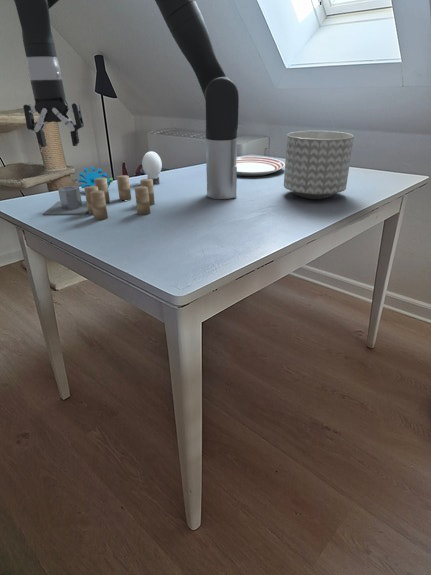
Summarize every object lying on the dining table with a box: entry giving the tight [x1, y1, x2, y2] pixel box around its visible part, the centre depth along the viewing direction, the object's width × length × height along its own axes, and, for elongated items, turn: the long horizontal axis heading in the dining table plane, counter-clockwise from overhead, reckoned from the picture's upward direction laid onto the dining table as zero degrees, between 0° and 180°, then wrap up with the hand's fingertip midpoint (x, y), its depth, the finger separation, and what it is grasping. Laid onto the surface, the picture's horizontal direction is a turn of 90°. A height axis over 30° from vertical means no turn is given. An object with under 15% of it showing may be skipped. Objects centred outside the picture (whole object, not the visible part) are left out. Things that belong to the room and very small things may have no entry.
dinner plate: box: [236, 156, 285, 177], centre depth 157 cm, size 28×27×3 cm
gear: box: [78, 166, 114, 189], centre depth 131 cm, size 11×6×10 cm
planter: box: [283, 130, 354, 200], centre depth 119 cm, size 19×19×18 cm
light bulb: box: [141, 150, 163, 186], centre depth 137 cm, size 7×7×11 cm
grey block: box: [58, 185, 83, 210], centre depth 113 cm, size 5×6×6 cm
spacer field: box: [83, 174, 156, 221], centre depth 113 cm, size 18×22×7 cm
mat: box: [42, 200, 89, 216], centre depth 114 cm, size 12×12×1 cm
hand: (59, 146), depth 106 cm, fingers open, 8 cm apart
